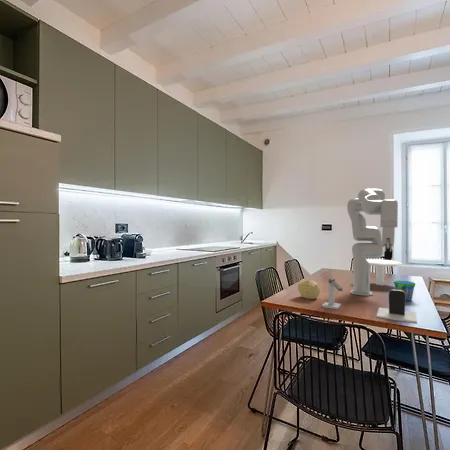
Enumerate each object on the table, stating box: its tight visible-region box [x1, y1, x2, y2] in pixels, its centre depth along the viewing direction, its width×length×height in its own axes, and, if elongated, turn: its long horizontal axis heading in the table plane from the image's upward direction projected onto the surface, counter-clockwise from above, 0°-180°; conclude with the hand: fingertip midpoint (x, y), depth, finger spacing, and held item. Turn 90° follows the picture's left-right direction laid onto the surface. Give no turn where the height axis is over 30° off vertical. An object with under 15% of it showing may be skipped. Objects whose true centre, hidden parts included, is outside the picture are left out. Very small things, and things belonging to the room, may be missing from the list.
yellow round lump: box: [297, 279, 321, 300], centre depth 180 cm, size 11×12×11 cm
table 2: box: [366, 258, 404, 286], centre depth 219 cm, size 28×28×17 cm
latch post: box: [321, 283, 342, 310], centre depth 162 cm, size 8×8×12 cm
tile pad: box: [376, 307, 418, 324], centre depth 147 cm, size 16×16×1 cm
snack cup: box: [393, 280, 416, 302], centre depth 177 cm, size 16×10×10 cm
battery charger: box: [388, 288, 406, 315], centre depth 147 cm, size 7×4×11 cm, turn 60°
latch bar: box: [328, 278, 343, 292], centre depth 152 cm, size 3×23×2 cm, turn 171°
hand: (388, 258), depth 153 cm, fingers open, 9 cm apart
